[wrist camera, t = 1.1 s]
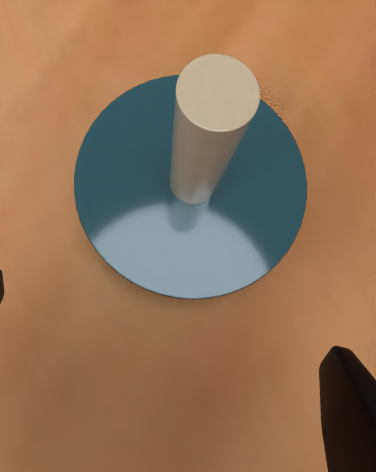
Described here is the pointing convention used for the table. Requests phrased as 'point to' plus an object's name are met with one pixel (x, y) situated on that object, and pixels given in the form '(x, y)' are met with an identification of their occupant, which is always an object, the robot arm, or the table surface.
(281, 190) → the lid
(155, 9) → the table surface
